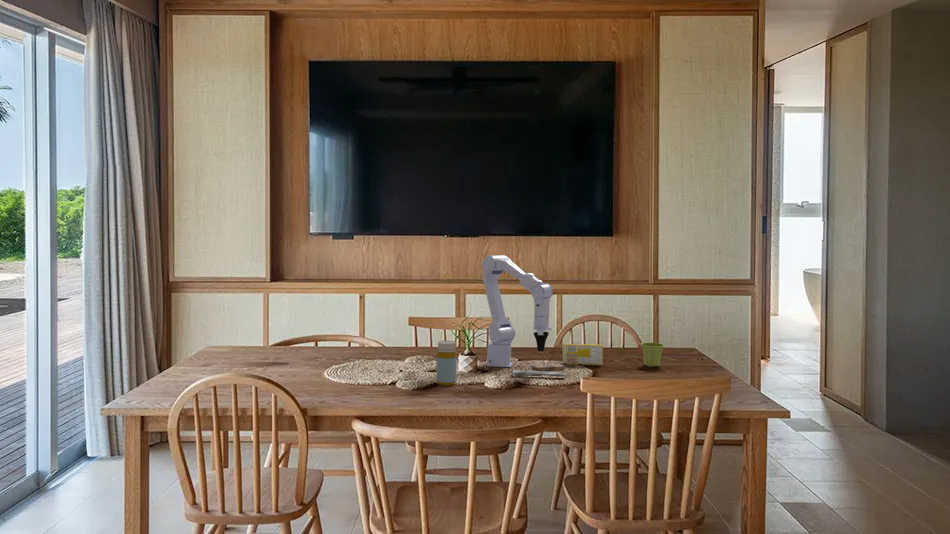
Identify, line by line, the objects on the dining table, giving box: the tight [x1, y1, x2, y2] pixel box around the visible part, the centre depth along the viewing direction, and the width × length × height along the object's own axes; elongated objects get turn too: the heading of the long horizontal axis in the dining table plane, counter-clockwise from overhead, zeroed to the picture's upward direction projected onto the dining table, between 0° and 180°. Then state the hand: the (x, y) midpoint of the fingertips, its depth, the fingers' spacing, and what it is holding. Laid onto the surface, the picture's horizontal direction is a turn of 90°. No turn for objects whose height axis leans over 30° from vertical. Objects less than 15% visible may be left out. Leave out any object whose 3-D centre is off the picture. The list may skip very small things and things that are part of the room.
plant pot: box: [640, 342, 665, 367], centre depth 323 cm, size 9×9×9 cm
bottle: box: [435, 340, 457, 387], centre depth 283 cm, size 7×7×15 cm
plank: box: [531, 363, 566, 372], centre depth 306 cm, size 12×4×3 cm, turn 109°
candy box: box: [562, 343, 604, 366], centre depth 323 cm, size 16×2×8 cm, turn 84°
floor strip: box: [511, 369, 567, 377], centre depth 299 cm, size 20×6×2 cm, turn 82°
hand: (540, 351), depth 304 cm, fingers closed
